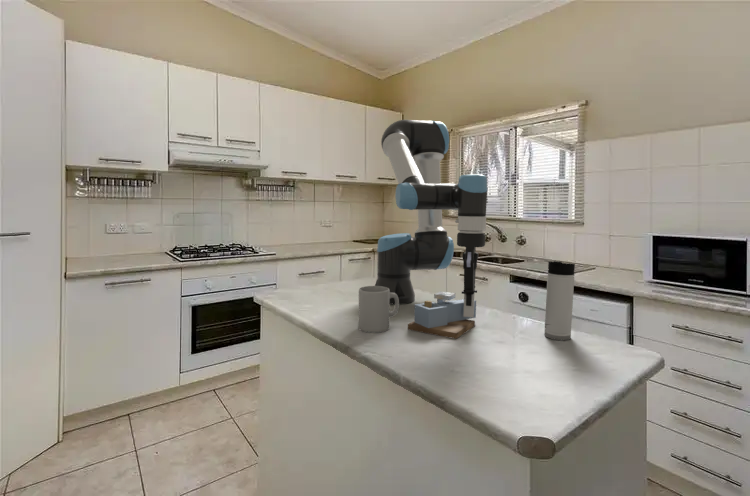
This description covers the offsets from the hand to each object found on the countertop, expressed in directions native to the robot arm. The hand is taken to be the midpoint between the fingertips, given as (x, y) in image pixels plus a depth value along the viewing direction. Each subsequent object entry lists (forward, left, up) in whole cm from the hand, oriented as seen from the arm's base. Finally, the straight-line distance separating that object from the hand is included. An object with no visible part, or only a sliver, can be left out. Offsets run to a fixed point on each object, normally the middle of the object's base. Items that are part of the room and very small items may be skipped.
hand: (468, 316), depth 115 cm
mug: (+15, -20, -3) cm, 25 cm away
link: (+3, -5, -1) cm, 6 cm away
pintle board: (+5, -6, -3) cm, 8 cm away
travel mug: (-5, +22, -3) cm, 23 cm away
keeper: (+2, -7, -1) cm, 7 cm away
